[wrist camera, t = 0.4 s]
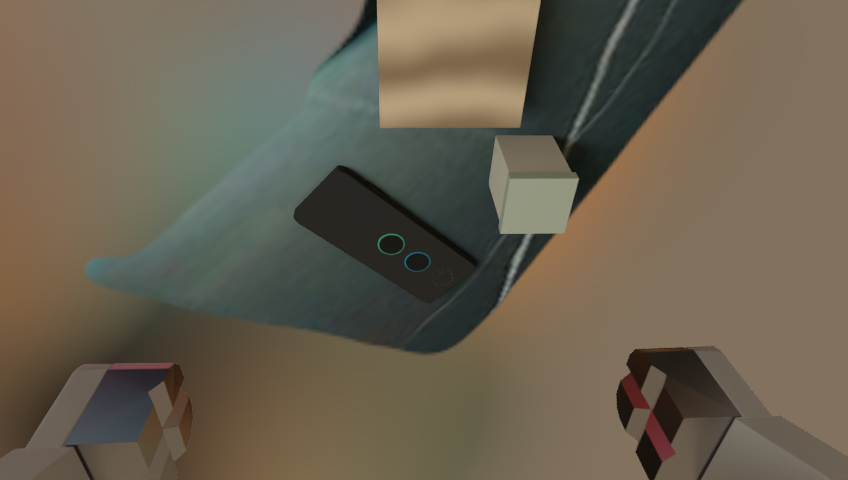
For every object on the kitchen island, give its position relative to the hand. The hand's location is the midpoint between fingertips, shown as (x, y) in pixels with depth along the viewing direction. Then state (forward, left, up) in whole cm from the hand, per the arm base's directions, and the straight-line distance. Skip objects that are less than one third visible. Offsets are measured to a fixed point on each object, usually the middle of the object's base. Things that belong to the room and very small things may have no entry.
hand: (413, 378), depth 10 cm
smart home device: (+29, 0, -40) cm, 49 cm away
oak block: (+7, +5, -40) cm, 40 cm away
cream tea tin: (+19, +13, -39) cm, 45 cm away
